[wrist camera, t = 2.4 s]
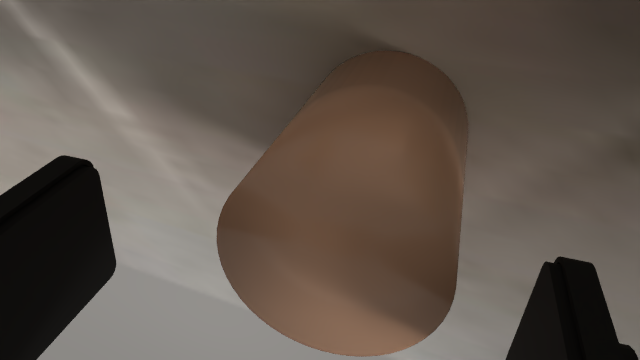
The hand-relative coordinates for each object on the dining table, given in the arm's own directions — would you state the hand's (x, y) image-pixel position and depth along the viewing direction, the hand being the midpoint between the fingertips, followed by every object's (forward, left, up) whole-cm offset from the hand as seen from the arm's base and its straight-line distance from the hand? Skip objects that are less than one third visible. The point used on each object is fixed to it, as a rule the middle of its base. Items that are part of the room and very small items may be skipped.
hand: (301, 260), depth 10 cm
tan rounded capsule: (-1, 0, -7) cm, 7 cm away
